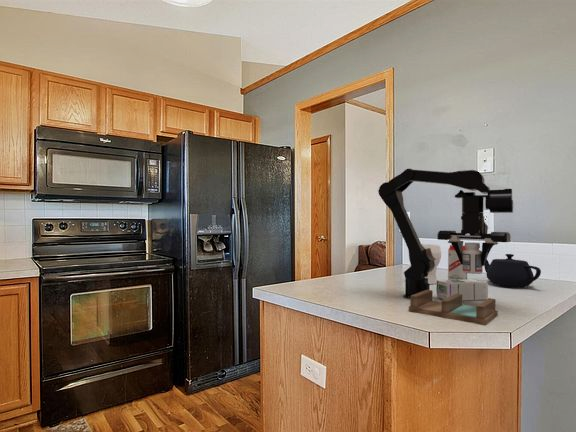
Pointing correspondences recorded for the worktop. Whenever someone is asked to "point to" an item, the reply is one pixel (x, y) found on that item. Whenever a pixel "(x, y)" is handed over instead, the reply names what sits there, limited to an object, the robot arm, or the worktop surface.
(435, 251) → the cup
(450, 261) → the beer can
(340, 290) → the worktop surface
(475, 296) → the syrup box
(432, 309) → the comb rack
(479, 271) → the pill bottle
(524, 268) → the teapot
